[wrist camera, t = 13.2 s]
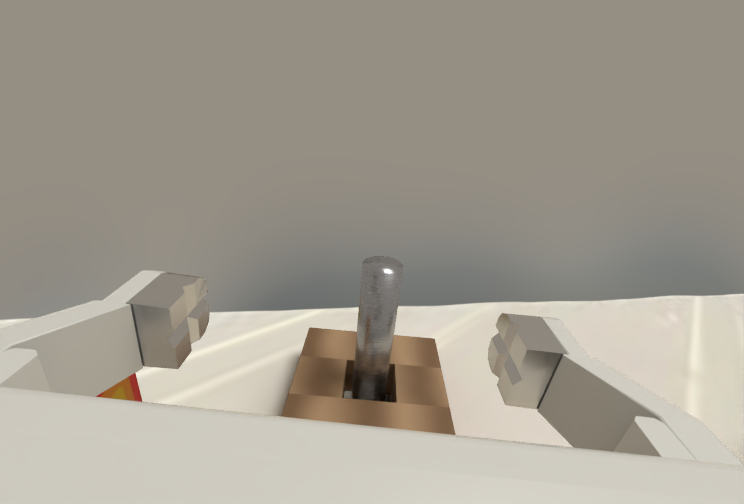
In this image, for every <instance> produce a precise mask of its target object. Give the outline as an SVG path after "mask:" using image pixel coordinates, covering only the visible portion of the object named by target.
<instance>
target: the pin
mask: <svg viewBox="0 0 744 504" xmlns="http://www.w3.org/2000/svg"><path fill="white" fill-rule="evenodd" d="M402 272H403V265H402V264H401V263H400V262H399V261H398V260H396V259H393V258H390V257H384V256H374V257H370V258H367V259H365V260H364V261H363V266H362V278H361V290H360V302H359V313H358V325H357V336H356V348H355V360H354V371H353V383H352V395H351V399H359V400H371V401H382V402H384V401H385V394H386V387H387V380H388V372H389V365H390V358H391V351H392V344H393V337H394V329H395V322H396V315H397V308H398V300H399V294H400V286H401V279H402Z"/></svg>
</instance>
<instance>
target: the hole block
mask: <svg viewBox="0 0 744 504" xmlns="http://www.w3.org/2000/svg"><path fill="white" fill-rule="evenodd" d="M356 336H357V332H353V331H342V330H331V329H320V328H309V331H308V334H307V337H306V340H305V343H304V347H303V350H302V353H301V356H300V359H299V362H298V366H297V369H296V372H295V375H294V378H293V381H292V385H291V388H290V391H289V394H288V397H287V400H286V404H285V407H284V410H283V413H282V416H281V417H289V418H299V419H308V420H318V421H327V422H337V423H346V424H356V425H366V426H375V427H385V428H394V429H404V430H413V431H422V432H432V433H441V434H450V435H455V431H454V426H453V422H452V417H451V412H450V408H449V403H448V399H447V394H446V389H445V385H444V380H443V375H442V371H441V366H440V361H439V357H438V352H437V348H436V343H435V339H431V338H420V337H409V336H398V335H394V337H393V344H392V351H391V358H390V365H389V372H388V380H387V387H386V394H391V402H382V401H371V400H359V399H348V398H344V391H345V390H352V383H353V371H354V360H355V348H356Z"/></svg>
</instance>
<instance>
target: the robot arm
mask: <svg viewBox="0 0 744 504" xmlns="http://www.w3.org/2000/svg"><path fill="white" fill-rule="evenodd" d="M207 292H208V290H207V282H206V280H205V279H204V278H203V277H198V276H190V275H183V274H176V273H169V272H162V271H153V270H143V271H141V272H140V273H139V274H137V275H136V276H135V277H133V278H132V279H131V280H129V281H128V282H127V283H125V284H124V285H123V286H121V287H120V288H118V289H117V290H116V291H114V292H113V293H112V294H110V295H109V296H108V297H106V298H105V299H104V300H102V301H97V300H95V301H91V302H88V303H85V304H82V305H78V306H75V307H71V308H68V309H65V310H61V311H58V312H55V313H51V314H48V315H45V316H42V317H38V318H35V319H31V320H28V321H25V322H21V323H18V324H15V325H12V326H8V327H5V328H2V329H0V504H744V465H743V464H742V463H741V462H740V461H739V460H738V459H737V458H736V457H735V456H734V455H733V454H732V452H731V451H730V450H729V449H728V448H727V447H726V446H725V445H724V444H723V443H722V442H721V441H720V440H719V439H718V438H717V437H716V436H715V435H714V434H713V433H712V432H711V431H710V430H709V429H708V428H707V427H706V426H705V425H704V424H703V423H702V422H701V421H699V420H698V419H696V418H694V417H693V416H691V415H689V414H688V413H686V412H684V411H683V410H681V409H679V408H678V407H676V406H674V405H673V404H671V403H669V402H668V401H666V400H664V399H663V398H661V397H660V396H658V395H656V394H655V393H653V392H651V391H650V390H648V389H646V388H645V387H643V386H641V385H640V384H638V383H636V382H635V381H633V380H631V379H630V378H628V377H626V376H625V375H623V374H621V373H620V372H618V371H616V370H615V369H613V368H611V367H610V366H608V365H606V364H605V363H603V362H601V361H600V360H598V359H596V358H592V357H589V356H588V355H587V353H586V352H585V351H584V349H583V348H582V347H581V346H580V344H579V343H578V342H577V341H576V339H575V338H574V337H573V336H572V334H571V333H570V332H569V331H568V329H567V328H566V327H565V326H564V324H563V323H562V322H561V320H559V319H557V318H550V317H536V316H526V315H515V314H504V313H502V314H501V315H500V317H499V318H498V321H497V324H496V327H497V329H498V331H499V333H498V334H497V335H495V336H494V337H493V338H492V339H491V342H490V345H489V351H488V360H489V365H490V368H491V371H492V373H494V374H495V375H496V376H497V377H498V378H499V381H498V384H497V386H498V388H499V391H500V393H501V396H502V398H503V401H504V403H505V405H509V406H516V407H523V408H531V409H538V412H539V413H540V414H541V415H542V416H543V417H544V418H545V419H546V420H547V421H548V422H549V423H550V424H551V425H552V426H553V427H554V428H555V429H556V430H557V431H558V432H559V433H560V434H561V435H562V436H563V437H564V438H565V439H566V440H567V441H568V442H569V443H570V444H571V445H572V446H573V447H574V448H572V447H563V446H553V445H544V444H534V443H525V442H516V441H506V440H497V439H488V438H478V437H469V436H460V435H450V434H441V433H432V432H422V431H413V430H404V429H394V428H385V427H375V426H366V425H356V424H346V423H337V422H327V421H318V420H308V419H299V418H289V417H280V416H270V415H261V414H252V413H242V412H233V411H224V410H214V409H205V408H195V407H186V406H177V405H167V404H158V403H149V402H139V401H130V400H120V399H111V398H102V397H96V396H97V395H99V394H101V393H102V392H104V391H106V390H107V389H109V388H110V387H112V386H114V385H115V384H117V383H119V382H120V381H122V380H124V379H125V378H127V377H129V376H130V375H132V374H134V373H135V372H137V371H139V370H140V369H142V368H143V366H146V367H159V368H171V369H179V367H180V366H181V365H182V363H183V362H184V360H185V359H186V358H187V356H188V355H189V354H190V352H191V351H192V350H191V344H192V343H194V342H196V341H198V340H200V338H201V337H202V336H203V334H204V333H205V330H206V328H207V325H208V322H209V305H208V304H207V303H206V301H205V300H204V299H203V297H204V296H205V294H206V293H207Z"/></svg>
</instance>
